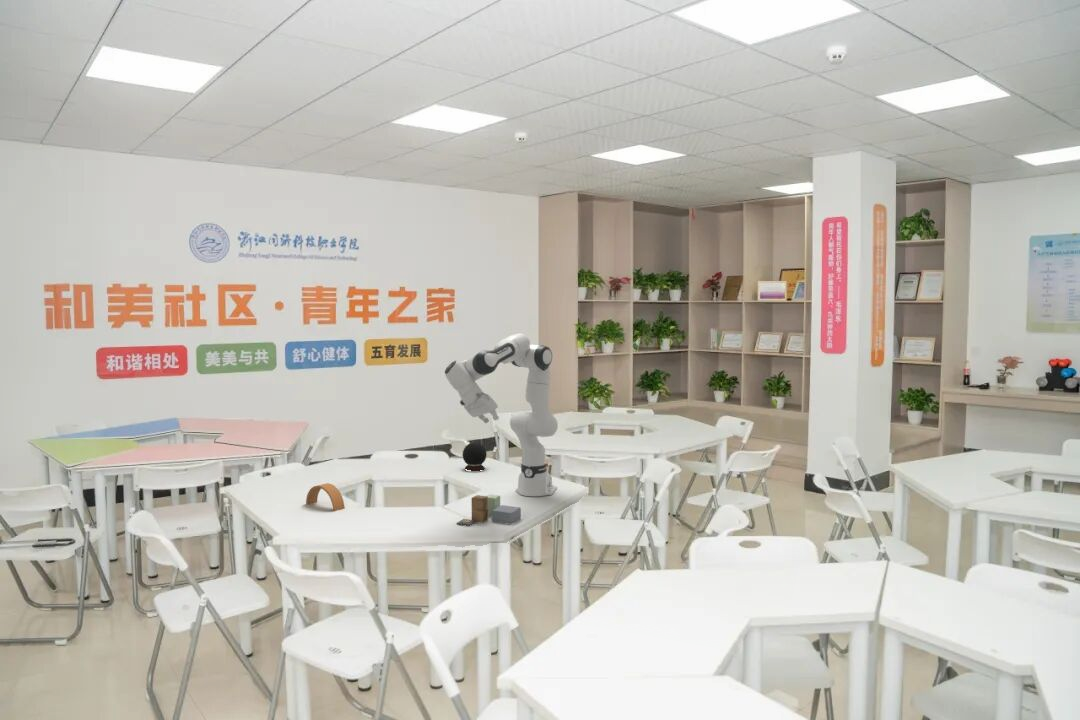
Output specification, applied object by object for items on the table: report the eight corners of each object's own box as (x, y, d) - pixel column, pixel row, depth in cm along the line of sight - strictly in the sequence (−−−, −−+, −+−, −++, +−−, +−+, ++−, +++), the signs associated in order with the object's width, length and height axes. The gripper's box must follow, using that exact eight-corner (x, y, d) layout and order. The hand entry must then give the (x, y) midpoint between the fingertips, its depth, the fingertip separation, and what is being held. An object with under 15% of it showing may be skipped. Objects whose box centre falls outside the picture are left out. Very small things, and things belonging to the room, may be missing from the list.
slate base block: (501, 516, 315) (501, 505, 314) (520, 519, 311) (520, 507, 310) (491, 522, 306) (491, 510, 306) (511, 524, 303) (511, 513, 302)
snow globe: (481, 473, 395) (481, 445, 394) (458, 471, 399) (458, 444, 398) (490, 467, 408) (489, 441, 407) (467, 466, 411) (467, 439, 410)
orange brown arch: (333, 511, 321) (333, 489, 321) (305, 504, 333) (305, 482, 332) (344, 508, 326) (344, 486, 325) (316, 501, 338) (316, 480, 337)
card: (463, 520, 307) (463, 518, 307) (476, 522, 305) (476, 520, 305) (456, 524, 302) (456, 522, 302) (469, 526, 300) (469, 524, 300)
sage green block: (490, 512, 320) (489, 494, 319) (500, 513, 318) (500, 495, 317) (484, 515, 315) (484, 497, 315) (495, 516, 313) (495, 498, 313)
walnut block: (477, 518, 311) (477, 495, 310) (487, 519, 309) (487, 496, 308) (471, 521, 307) (471, 497, 306) (482, 522, 305) (482, 499, 304)
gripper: (488, 386, 304) (508, 413, 306) (467, 394, 321) (486, 419, 323) (478, 396, 301) (498, 422, 303) (457, 403, 318) (477, 428, 320)
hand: (492, 420), depth 313 cm, fingers open, 8 cm apart
